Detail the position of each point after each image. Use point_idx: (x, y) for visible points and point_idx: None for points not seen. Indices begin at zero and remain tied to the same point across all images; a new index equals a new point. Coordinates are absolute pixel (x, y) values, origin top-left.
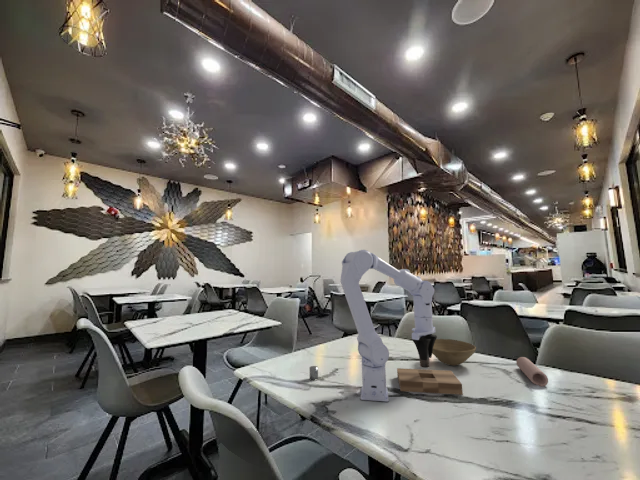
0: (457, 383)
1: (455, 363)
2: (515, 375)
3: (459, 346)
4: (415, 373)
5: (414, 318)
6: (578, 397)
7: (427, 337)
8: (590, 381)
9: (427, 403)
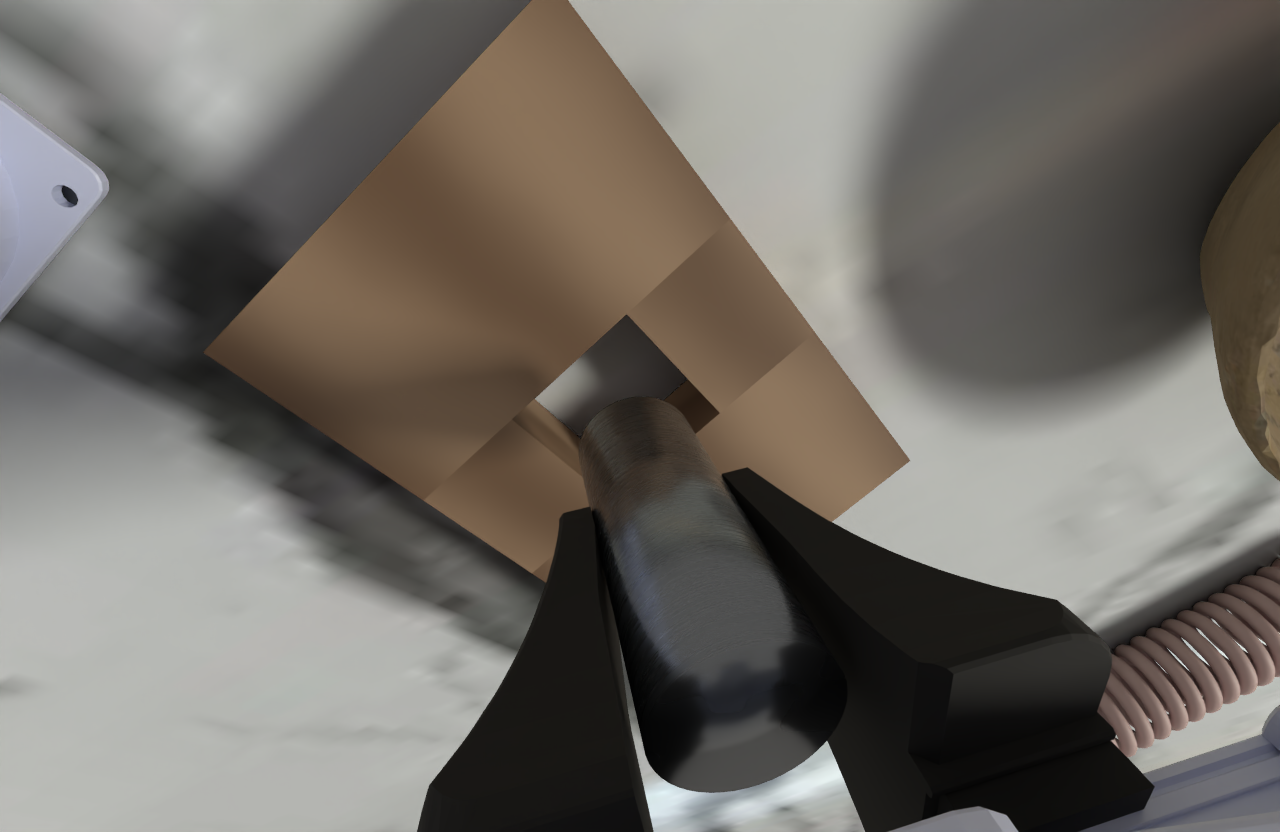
0: None
1: (1207, 309)
2: (1165, 580)
3: None
4: (578, 305)
5: None
6: None
7: (894, 801)
8: (1199, 741)
9: (289, 579)
